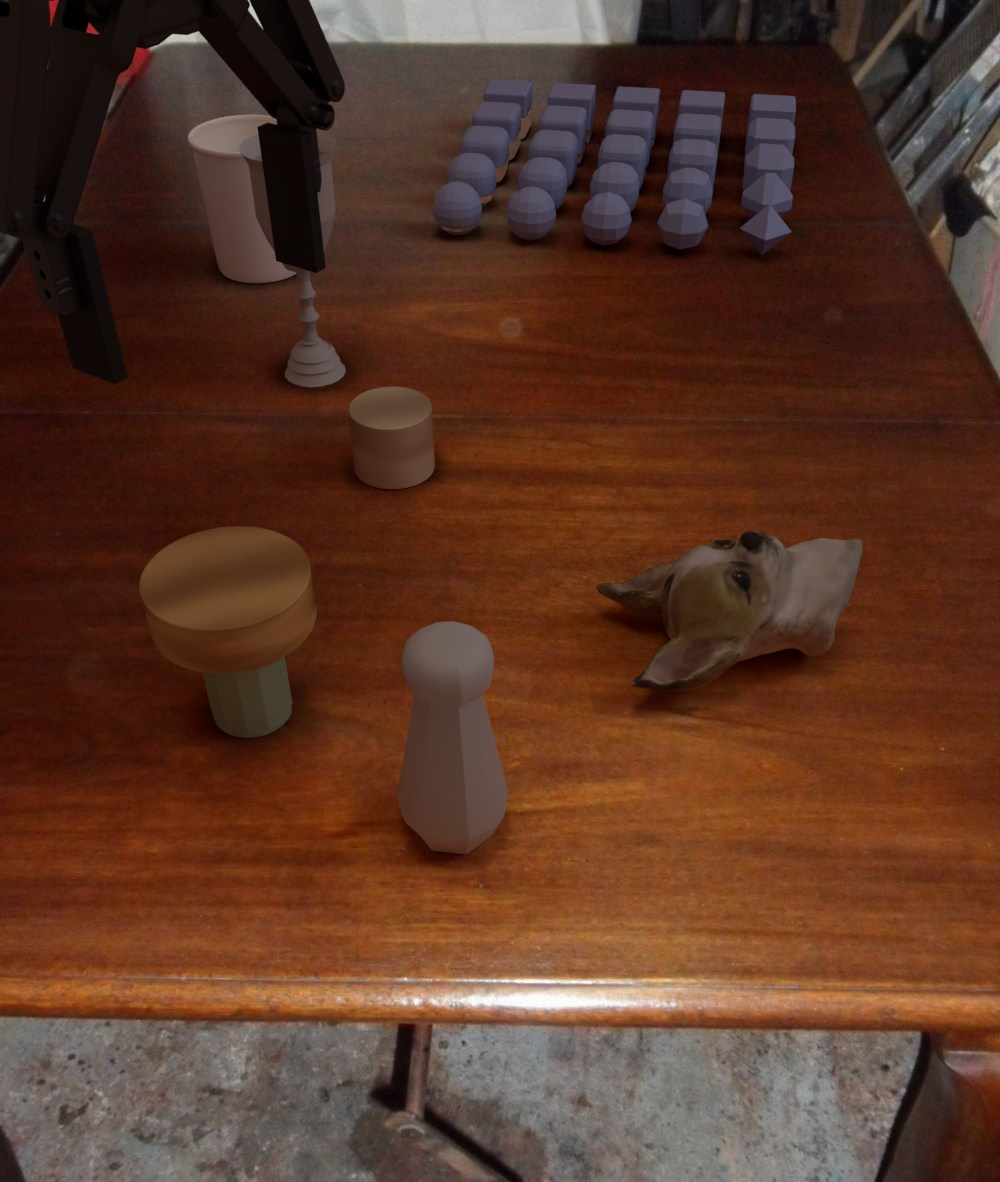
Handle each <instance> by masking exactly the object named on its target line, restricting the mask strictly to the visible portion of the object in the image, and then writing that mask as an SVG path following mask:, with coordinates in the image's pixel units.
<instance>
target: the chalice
mask: <svg viewBox="0 0 1000 1182" xmlns="http://www.w3.org/2000/svg"><path fill="white" fill-rule="evenodd" d="M317 139H318V148H319V160H320V169H321V176H322V183H321V191H320V192H318V202H319V211H320V220H321V229H322V238H323V247H324V253H326V249H327V246H328V244H329V240H330V238H331V234H332V230H333V225H334V221H335V216H336V213H337V211H336V198H335V189H334V180H333V179H334V177H333V168H332V167H333V166H332V157H333V155H334V151H335V148H336V146H337V138H336V137H335V136H334V135H333V134H331V133H329V132H327V131H325V130H321V129H317ZM239 151H240V153H241V154H242V156H243V158H244V159H245V161H246V162H247V164H248V165H249V172H250V179H251V186H252V193H253V200H254V207H255V214H256V218H257V221H258V223H259V225H260V227H261V229H262V231H263V233H264V235H265V237H266V239H267V241H268V242H269V244H270V246H271V247H272V249H273V250H274V243H273V236H272V229H271V222H270V214H269V207H268V200H267V193H266V186H265V179H264V171H263V164H262V157H261V150H260V143H259V136H258V134H256V135H253V136H251V137H250V138H248V139H246V140H244V141H243V142H242V143H241V144H240V147H239ZM274 252H275V250H274ZM282 264H283V266H284V267H285V268H286V269H287V270H289V271H292V272H296V274H295V275H296V277H297V279H298V286H297V292H296V293H295V297H296V298H297V299H298V301H299V303H300V306H301V309H300V313H299V314H298V315H297V320H298V321H299V322H301V323H302V327H303V329H304V335H303V338H302V339H301V340H299V341H298V342H296V343H295V344H294V346H293V347H292V349H291V351H290V356H289V358H288V360H287V367H286V368H285V371H284V378H285V379H286V380H287V381H288V382H289V383H291V384H293V385H295V386H297V387H298V386H299V387H302V388H319V387H325V386H326V387H327V386H329V385H332V384H334V383H336V382H338V381H340V380H341V379H343V378H344V376H345V374H346V372H347V371H346V366H345V365H344V363H342V361H341V358H340V356H339V355H338V353H337V352H336V348H335V347H334V346H333V345H332V344H331V343H330V342H328V341H327V340H325V339H323V338H321V337H320V336H319V334H318V332H317V330H316V328H317V321H318V320H319V318H320V314H319V312H317V311H316V309H315V307H314V305H313V304H314V300H315V297H316V295H317V292H316V291H315V289H314V288H313V285H312V282H311V271H307V270H304V269H301V268H297V267H294V266H291V265H287V264H284V263H282Z"/></svg>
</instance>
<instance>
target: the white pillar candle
mask: <svg viewBox="0 0 1000 1182" xmlns="http://www.w3.org/2000/svg"><path fill="white" fill-rule="evenodd" d="M433 419H434V417H433V404H432V401H431V400H430V398H429V397H428V396H427V395H426V394H424V393H423V392H421V391H419V390H417V389H413V388H409V387H404V386H382V387H376V388H372V389H369V390H366V391H364V392H361V393H360V394H358V395H357V396H355V397H354V398H353V399H352V400H351V402H350V403H349V405H348V421H349V430H350V431H349V432H350V439H351V440H350V441H351V450H352V461H353V470H354V473H355V476H356V477H357V478H358V479H359V480H360V481H361V482H362V483H364V484H365V485H367V486H370V487H373V488H376V489H382V490H403V489H409V488H412V487H415V486H417V485H418V486H419V485H420V484H422V483H424V482H425V481H426V480H428V479H429V478H431V476H432V474H433V473H434V471H435V469H436V460H435V459H436V458H435V439H434V438H435V436H434V420H433Z"/></svg>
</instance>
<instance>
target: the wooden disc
mask: <svg viewBox="0 0 1000 1182" xmlns="http://www.w3.org/2000/svg"><path fill="white" fill-rule="evenodd" d="M312 573H313V572H312V567H311V561H310V559H309V557H308V555H307V553H306V552H305V550H304V549H303V547H302V546H301V545H300V544H298V543H297V542H296V541H295V540H293V539H292V538H290V537H288V536H287V535H285V534H282V533H280V532H278V531H275V530H271V529H267V528H264V527H258V526H247V525H234V526H233V525H232V526H222V527H221V526H220V527H214V528H209V529H204V530H201V531H197V532H194V533H191V534H188V535H186V536H183V537H181V538H179V539H177V540H175V541H173V542H171V543H170V544H168V545H166V546H165V547H163V548H162V549H161V550H160V551H158V552H157V553H156V554H155V555H154V556H153V557H152V558H151V559H150V560H149V561H148V562H147V563H146V565H145V567H144V568H143V570H142V571H141V575H140V578H139V583H138V592H139V596H140V600H141V604H142V608H143V612H144V615H145V618H146V622H147V626H148V630H149V633H150V637H151V639H152V643H153V645H154V646H155V648H156V649H157V650H158V652H159V653H160V654H161V655H162V656H163V657H165V659H167V660H168V661H169V662H172V663H173V664H174V665H177V666H179V667H181V668H184V669H187V670H189V671H194V672H199V673H203V672H205V673H219V674H225V673H237V672H244V671H249V670H253V669H257V668H260V667H263V666H266V665H269V664H271V663H273V662H276V661H278V660H280V659H281V658H283V657H285V658H286V657H287V656H288V655H290V654H291V653H293V652H294V651H295V650H297V649H298V648H299V647H300V646H301V645H302V644H303V643H304V642H305V641H306V639H308V637H309V636H310V634H311V633H312V631H313V629H314V626H315V624H316V621H317V615H318V614H317V613H318V612H317V611H318V609H317V601H316V595H315V588H314V587H315V586H314V580H313V574H312Z"/></svg>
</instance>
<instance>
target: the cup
mask: <svg viewBox="0 0 1000 1182" xmlns="http://www.w3.org/2000/svg"><path fill="white" fill-rule="evenodd" d="M288 674H289V673H288V668H287V662H286V656H285V657H283V658H281V659H280V660H278V661H276V662H273V663H271V664H269V665H266V666H263V667H260V668H257V669H253V670H249V671H244V672H237V673H225V674H219V673H205V672H202V676H203V680H204V681H203V682H204V685H205V688H206V692H207V697H208V701H209V705H210V710H211V714H212V718H213V720H214V723H215V725H216V726H217V728H219V729H220V730H221V731H223V732H224V733H225V734H227V735H229V736H232V737H235V738H241V739H251V738H253V739H254V738H260V737H263V736H266V735H270V734H271V733H274V732H275V731H277V730H279V729H280V728H281V727H282V726H283V725H285V724H286V723H287V721H289V719H290V717H291V714H292V712H293V698H292V691H291V687H290V679H289V675H288Z"/></svg>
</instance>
